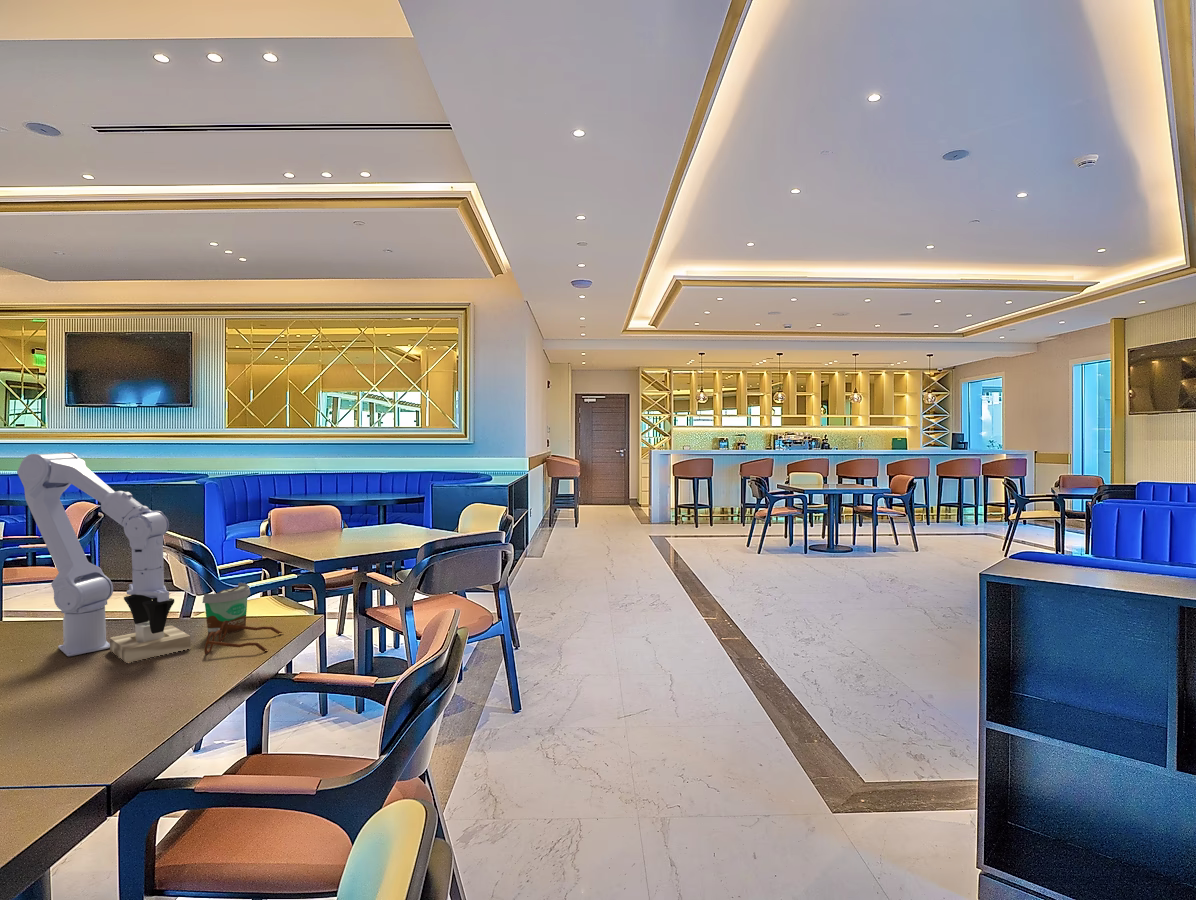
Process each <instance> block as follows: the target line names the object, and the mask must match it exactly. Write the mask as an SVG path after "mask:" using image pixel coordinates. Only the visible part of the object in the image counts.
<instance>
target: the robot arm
mask: <svg viewBox="0 0 1196 900" xmlns="http://www.w3.org/2000/svg"><path fill="white" fill-rule="evenodd" d="M86 464H87V463H86V461H85V460H84V459H82V458H80V457H79V455H77V454H75V453H74V452H68V451H67V452H65V451H64V452H62V453H59V452H58V453H40V454H39V453H31V454H28V455H26V456H24V458H23V459H22V461H21V462H20V464H19V467H18V469H17V471H16V473H17V476H18V477H19V479H20V481H21V483H22V485H23V486H22V487H23V488H24V498H25V502H26V504H27V506H28V508H29V510H30V513H31V515H32V517H33V519H34V521H35V524H36V526H37V528H38V531H39V532H40V534H41V537H42V539H43V541H44V543H45V545H46V547H47V550H48V552H49V554H50V557H51V559H52V561H53V562H54V563H53V564H54V565H55V567H56V569H57V571H58V572H57V575H56V576H55V578H54V579H53V580H52V581H51V584H50V585H51V588H52V590H53V600H54V604H55V606H56V607H57V609H58V610H60V611H61V614H63V618H62V629H63V630H62V633H63V635H62V636H63V644H59V645H57V646H58V649H59V650H60V651H61V652H63V654H65V656H67V657H74V656H78V655H79V656H80V655H82V654H86V653H87V654H89V653H93V652H98V651H102V650H106V649H110V642H108V641H107V626H106V625H107V624H106V621H107V620H106V606H107V605H108V600H110V598H111V597H112V595H113V592H114V585H113V582H112V581H111V578H109V577H108V576H107V575H105V573H104V572H103V570H102V568H101V567H100V566H98V565H96V564H93V563H91V562H90V561H89V560H88V558H87V556H86V553H85V552H84V549H83V547H82V546H81V545H82V544H81V543H80V541H79V538H78V536H77V534H76V531H75V530H74V527H73V525H72V523H71V520H70V518H69V517H68V514H67V512H66V510H65V508H64V505H63V503H62V500H61V497H62V494H63V493H65V492H66V490H67V489H68V488H69V487H70V486H71V485H72V486H74V487H75V488H76V489H79V490H80V491H82V492H84V493H85V494H87V495H88V496H89V497H91V498H93V499H94V500H96V501H97V502H99V503H100V509H101V511H102V513H104V514H106V516H108V517H109V518H110V519H112V520H114V521H115V522H116V523H118V525H120V526H121V527H123V531H124V532H123V533H124V535H125V537H126V538H127V539H128V541H129V547H130V549H131V566H132V567H131V570H132V583H130V584H128V589H127V590H126V594H127V595H126V596H124V597H123V600H124V602H126V604H127V606H128V608H129V610H130V613H131V615H132V618H133V622H134V625H135V624H139V623H144V622H148V621H149V624H150V629H151V632H152V633H153V634H154V633H159V632H163V631H164V628H165V627H166V624H167V623H166V622H167V620H168V619H167V618H168V616H169V612H170V611H171V608H172V606H173V605H174V604H175V599H174V598H171V597H170V591H169V590H167V587H166V585H165V574H164V573H165V571H164V535H165V534H167V532H168V531H169V528H170V527H169V526H170V522H169V519H168V517H167V516H166V515H165V514H164V513H163V511H160V510H151V509H150V508H149V507H148V506H147V505H143V504H142V503H141V502H139V501H138V500H136V499H135V498H134V497H133V494H132V493H131V492H130V491H125V490H124V491H123V490H117V491H115V490H114V489H113V488H111V486H109V485H108V484H107V483H106V482H104V481H103V480H102V479H101V478H100V477H99V476H98V475H97V474H95V473H94V472H93V471H92V470H91V469H89V468H88V467H87V465H86Z"/></svg>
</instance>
